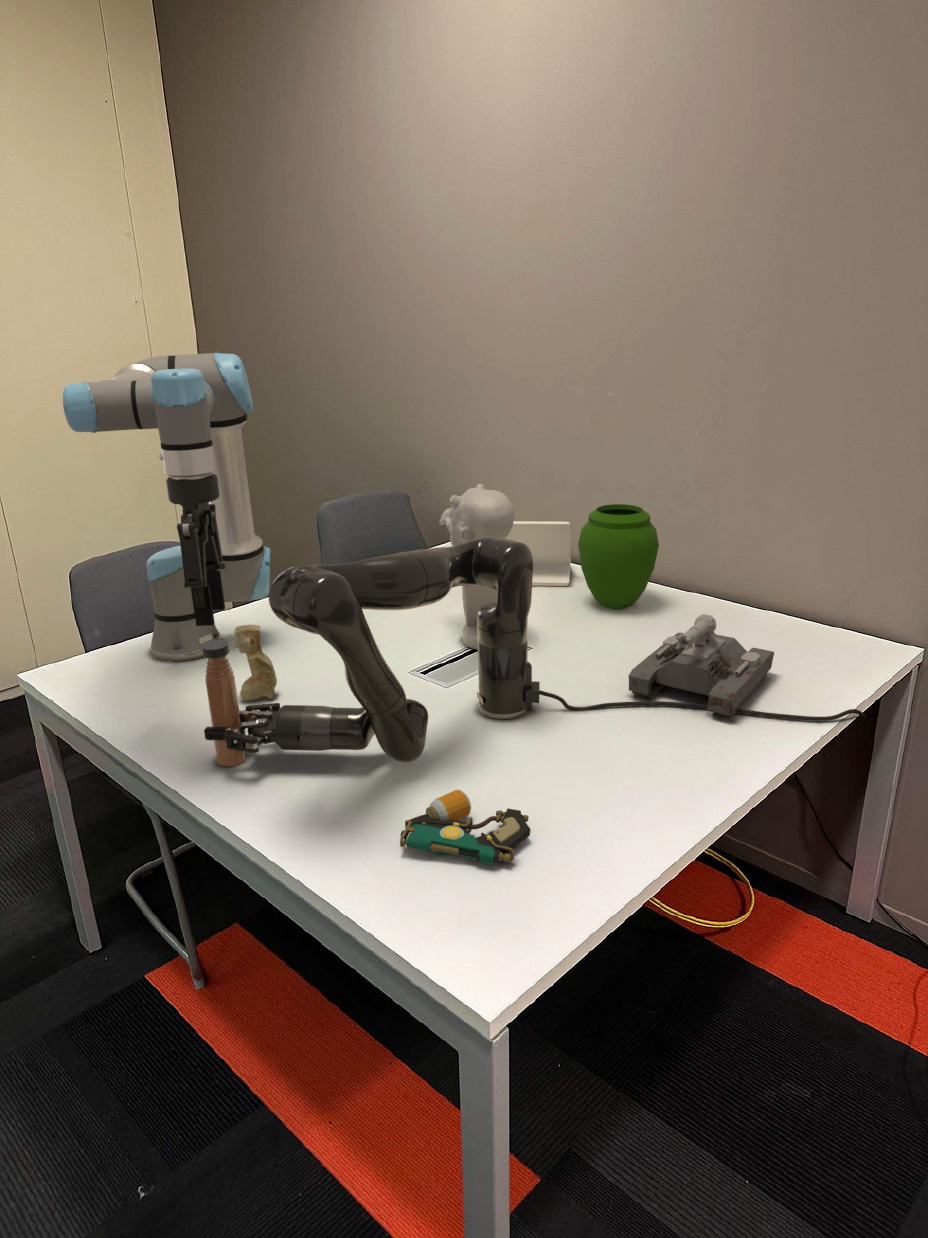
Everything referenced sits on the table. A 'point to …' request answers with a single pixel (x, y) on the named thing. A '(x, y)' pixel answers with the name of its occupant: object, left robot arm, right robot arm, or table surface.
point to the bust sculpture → (470, 521)
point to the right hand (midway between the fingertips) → (211, 725)
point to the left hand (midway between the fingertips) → (211, 616)
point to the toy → (703, 667)
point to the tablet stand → (546, 550)
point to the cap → (215, 649)
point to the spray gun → (464, 831)
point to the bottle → (223, 706)
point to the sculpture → (255, 664)
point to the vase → (618, 554)
